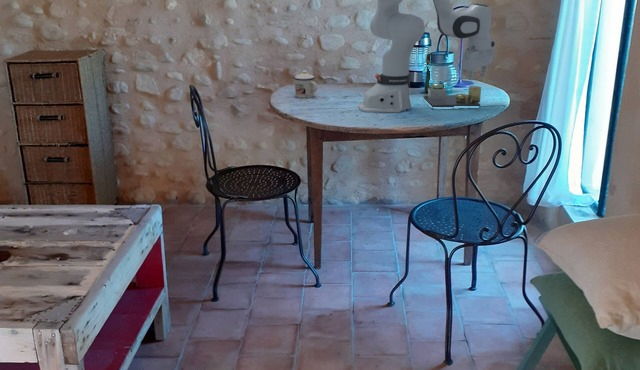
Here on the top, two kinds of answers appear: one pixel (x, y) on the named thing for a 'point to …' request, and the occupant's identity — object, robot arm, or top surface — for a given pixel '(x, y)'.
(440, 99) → the tribrach plate
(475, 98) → the brown boot
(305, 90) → the teacup with lid
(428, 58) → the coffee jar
